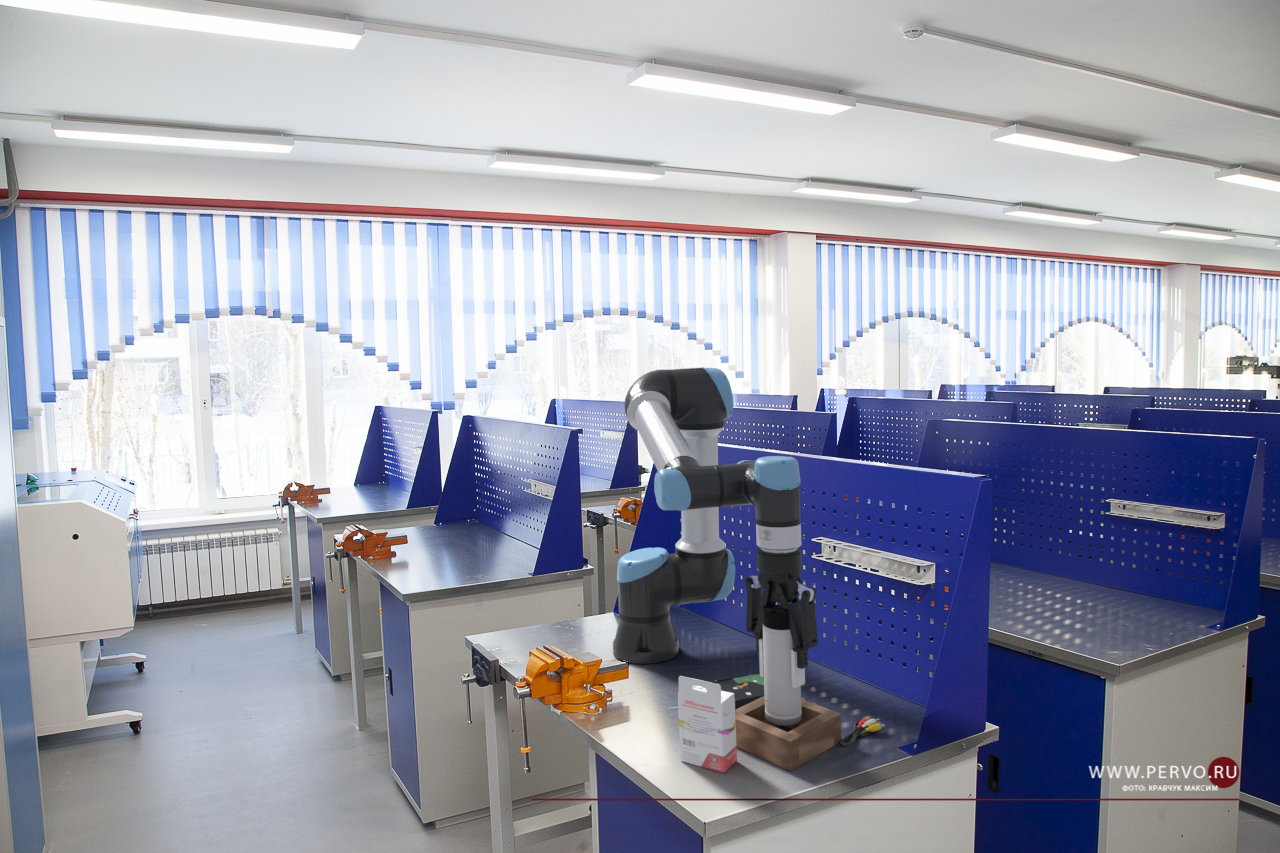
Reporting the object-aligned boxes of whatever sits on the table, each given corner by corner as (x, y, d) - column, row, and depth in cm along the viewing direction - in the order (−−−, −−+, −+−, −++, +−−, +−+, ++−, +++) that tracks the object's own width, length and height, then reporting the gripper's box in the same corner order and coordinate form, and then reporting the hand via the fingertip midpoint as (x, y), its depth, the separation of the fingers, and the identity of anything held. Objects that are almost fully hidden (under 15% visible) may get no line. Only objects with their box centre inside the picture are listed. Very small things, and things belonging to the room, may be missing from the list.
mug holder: (726, 742, 137) (725, 714, 137) (777, 715, 147) (776, 690, 146) (791, 771, 127) (790, 741, 127) (841, 741, 136) (840, 713, 136)
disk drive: (722, 717, 149) (792, 703, 153) (721, 703, 148) (792, 689, 153) (701, 695, 158) (768, 682, 163) (700, 682, 158) (767, 669, 163)
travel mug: (756, 718, 137) (753, 605, 135) (781, 706, 141) (778, 597, 139) (784, 730, 132) (781, 613, 130) (809, 718, 136) (806, 604, 134)
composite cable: (848, 751, 134) (848, 737, 133) (826, 740, 137) (826, 726, 137) (886, 733, 139) (886, 720, 139) (864, 723, 143) (864, 710, 143)
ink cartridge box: (738, 760, 131) (736, 675, 130) (724, 774, 127) (721, 686, 126) (693, 748, 136) (690, 665, 135) (678, 761, 132) (675, 675, 130)
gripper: (722, 543, 139) (726, 671, 141) (812, 561, 124) (815, 702, 126) (749, 536, 144) (753, 659, 146) (839, 552, 129) (842, 688, 131)
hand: (782, 679), depth 136 cm, fingers closed on travel mug, 6 cm apart
